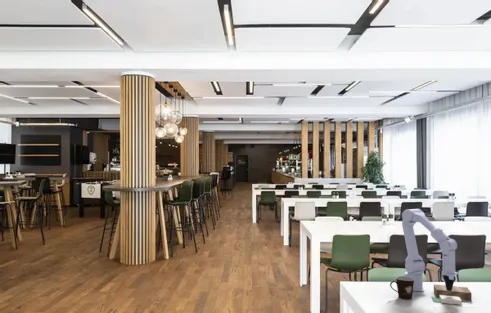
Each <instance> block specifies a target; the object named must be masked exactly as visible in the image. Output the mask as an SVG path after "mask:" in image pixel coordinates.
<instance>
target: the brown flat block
mask: <svg viewBox="0 0 491 313" xmlns="http://www.w3.org/2000/svg"><path fill="white" fill-rule="evenodd" d="M433 293H434V295H435V297H439V295H445V296H455V297H460V299H461V300H462V301H467V302H472V301H473V300H472V299H473V298H472V292H471V290H470V289H469V288H468V287H467V286H465V287H464V286H456V285H455V286H454V285H453V288H452V291H447V289H446V285H445V284H436V283H435V284H433Z"/></svg>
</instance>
